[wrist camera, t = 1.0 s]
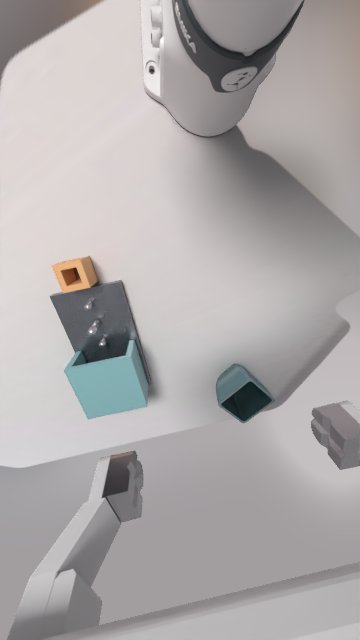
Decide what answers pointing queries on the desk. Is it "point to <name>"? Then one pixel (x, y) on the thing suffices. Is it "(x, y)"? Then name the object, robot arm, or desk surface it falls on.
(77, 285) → the hollow square tube
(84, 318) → the housing base
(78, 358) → the cover
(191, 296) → the desk surface
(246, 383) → the flower pot
